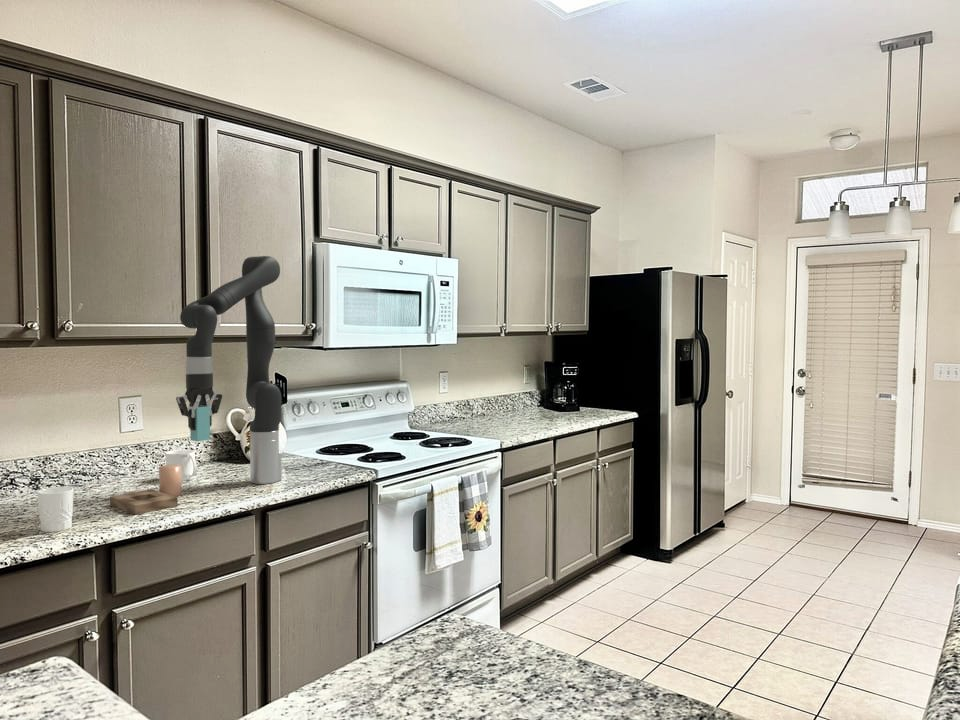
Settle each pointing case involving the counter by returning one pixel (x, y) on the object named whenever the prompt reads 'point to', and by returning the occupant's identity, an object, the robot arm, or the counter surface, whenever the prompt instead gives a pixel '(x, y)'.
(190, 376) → the robot arm
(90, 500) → the counter surface
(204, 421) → the square peg
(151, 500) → the board
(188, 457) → the mug
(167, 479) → the round peg
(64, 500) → the white cup
